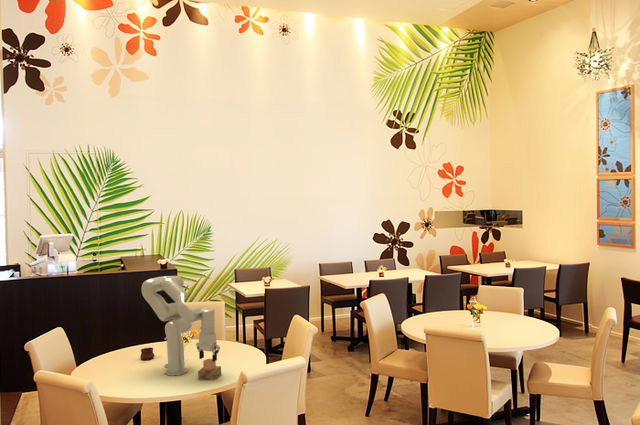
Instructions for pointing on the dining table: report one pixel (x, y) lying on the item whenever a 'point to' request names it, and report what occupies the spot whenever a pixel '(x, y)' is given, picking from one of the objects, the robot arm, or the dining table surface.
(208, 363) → the terracotta cube
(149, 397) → the dining table surface
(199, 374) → the block
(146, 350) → the brown pouch
